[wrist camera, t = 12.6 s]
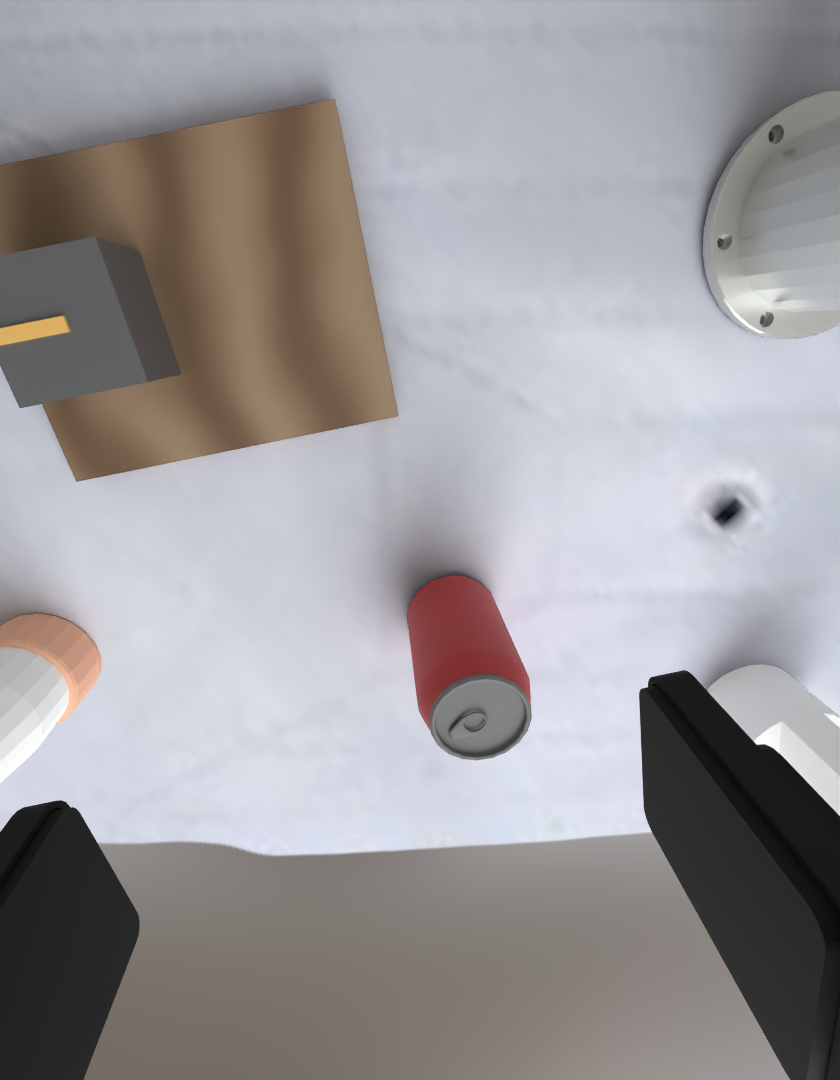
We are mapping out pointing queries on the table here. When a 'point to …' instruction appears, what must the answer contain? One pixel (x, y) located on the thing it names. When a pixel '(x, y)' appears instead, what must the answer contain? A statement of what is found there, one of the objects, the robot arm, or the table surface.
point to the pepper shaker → (40, 681)
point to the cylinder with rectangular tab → (785, 723)
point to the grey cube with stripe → (79, 322)
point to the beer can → (467, 670)
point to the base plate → (219, 284)
